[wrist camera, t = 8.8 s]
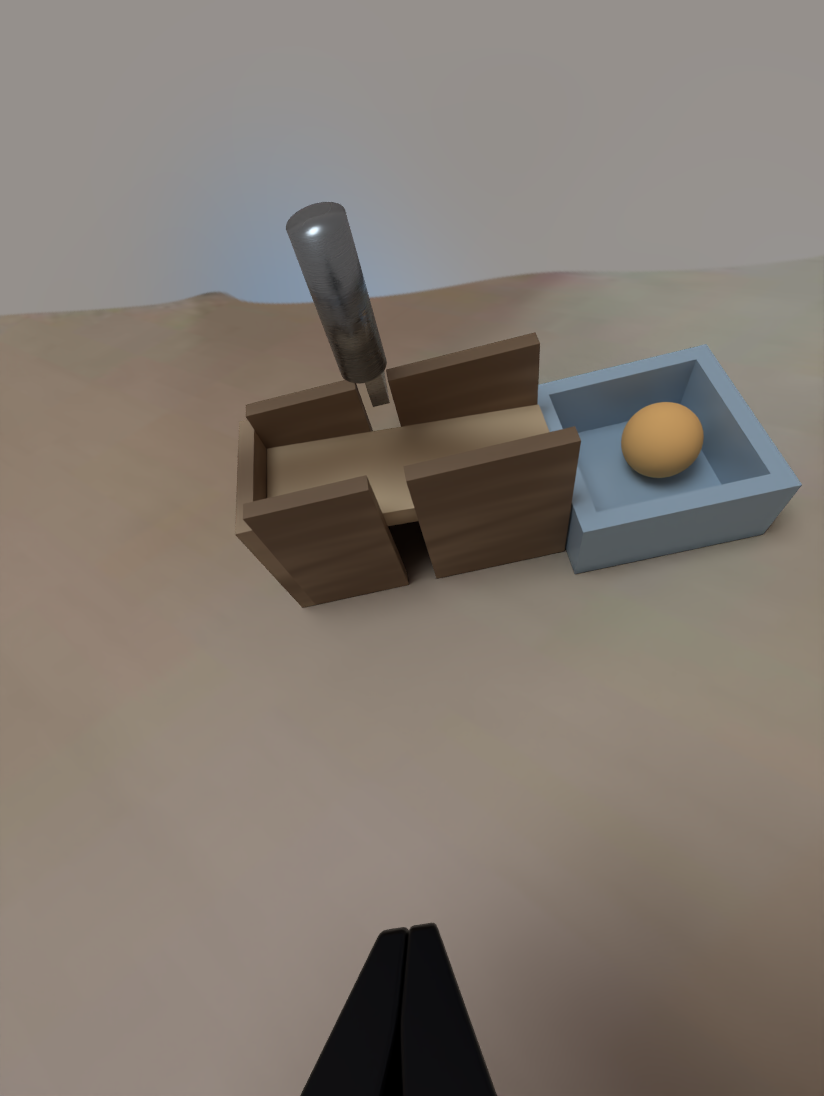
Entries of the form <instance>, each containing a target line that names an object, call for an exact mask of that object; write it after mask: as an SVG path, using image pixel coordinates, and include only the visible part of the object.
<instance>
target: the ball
mask: <svg viewBox="0 0 824 1096" xmlns="http://www.w3.org/2000/svg"><path fill="white" fill-rule="evenodd" d="M703 439H704V434H703V428H702V425H701V422H700V420H699V419H698V417H697V416H696V415H695V414H694V413H693V412H692V411H691V410H690V409H688V408H687V407H685V406H683V405H681V404H678V403H673V402H659V403H654V404H651V405H648V406H646V407H644V408H642V409H641V410H639V411H638V412H637V413H635V414H634V415H633V416H632V417H631V418H630V420H629V421H628V423H627V424H626V426H625V428H624V430H623V433H622V438H621V449H622V453H623V456H624V458H625V460H626V462H627V463H628V464H629V465H630V466H631V467H632V469H634V470H635V471H636V472H638V473H640V474H642V475H644V476H648V477H653V478H665V477H670V476H673V475H676V474H678V473H680V472H682V471H684V470H685V469H687V468H688V467H689V466H690V465H691V464H692V463H693V462H694V461H695V460H696V458H697V457H698V455H699V453H700V451H701V449H702V445H703Z"/></svg>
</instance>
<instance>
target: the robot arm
mask: <svg viewBox="0 0 824 1096" xmlns="http://www.w3.org/2000/svg"><path fill="white" fill-rule="evenodd" d="M300 1096H497V1094H496V1092H495V1089H494V1086H493V1083H492V1080H491V1077H490V1075H489V1072H488V1069H487V1066H486V1063H485V1060H484V1058H483V1055H482V1052H481V1049H480V1046H479V1043H478V1041H477V1038H476V1035H475V1032H474V1029H473V1026H472V1024H471V1021H470V1018H469V1015H468V1012H467V1009H466V1007H465V1004H464V1001H463V998H462V995H461V992H460V990H459V987H458V984H457V981H456V978H455V975H454V973H453V970H452V967H451V964H450V961H449V958H448V956H447V953H446V950H445V947H444V944H443V941H442V938H441V936H440V933H439V930H438V927H437V925H436V924H435V923H427V924H421V925H414V926H412V927H411V928H410V929H409V930H408V929H407V928H405V927H401V928H395V929H389V930H384V931H382V932H381V933H380V934H379V936H378V938H377V940H376V942H375V944H374V946H373V948H372V950H371V952H370V954H369V956H368V958H367V960H366V962H365V964H364V966H363V968H362V970H361V972H360V974H359V977H358V979H357V981H356V983H355V985H354V987H353V989H352V991H351V993H350V995H349V997H348V999H347V1001H346V1003H345V1005H344V1007H343V1009H342V1011H341V1013H340V1015H339V1018H338V1020H337V1022H336V1024H335V1026H334V1028H333V1030H332V1032H331V1034H330V1036H329V1038H328V1040H327V1042H326V1044H325V1046H324V1048H323V1050H322V1052H321V1054H320V1057H319V1059H318V1061H317V1063H316V1065H315V1067H314V1069H313V1071H312V1073H311V1075H310V1077H309V1079H308V1081H307V1083H306V1085H305V1087H304V1089H303V1091H302V1093H301V1095H300Z"/></svg>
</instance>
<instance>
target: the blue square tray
mask: <svg viewBox="0 0 824 1096" xmlns="http://www.w3.org/2000/svg"><path fill="white" fill-rule="evenodd" d="M659 402H673V403H678V404H681V405H683V406H685V407H687V408H688V409H690V410H691V411H692V412H693V413H694V414H695V415H696V416H697V417H698V419H699V420H700V422H701V425H702V428H703V434H704V439H703V445H702V449H701V451H700V453H699V455H698V457H697V458H696V460H695V461H694V462H693V463H692V464H691V465H690V466H689V467H688V468H687V469H685V470H684V471H682V472H680V473H678V474H676V475H673V476H670V477H665V478H653V477H648V476H644V475H642V474H640V473H638V472H636V471H635V470H634V469H632V467H631V466H630V465H629V464H628V463H627V462H626V460H625V458H624V456H623V453H622V449H621V438H622V433H623V430H624V428H625V426H626V424H627V423H628V421H629V420H630V418H631V417H632V416H633V415H634V414H635V413H637V412H638V411H639V410H641V409H642V408H644V407H646V406H648V405H651V404H654V403H659ZM538 404H539V406H540V408H541V411H542V414H543V416H544V419H545V421H546V424H547V427H548V429H549V432H552V431H556V430H561V429H565V428H569V427H574V426H575V427H576V430H577V432H578V434H579V437H580V439H581V445H580V452H579V458H578V465H577V471H576V478H575V484H574V491H573V497H572V504H571V511H570V517H569V524H568V530H567V537H566V543H565V548H566V551H567V554H568V556H569V559H570V562H571V565H572V568H573V571H574V574H578V573H583V572H587V571H592V570H597V569H602V568H606V567H611V566H616V565H620V564H625V563H630V562H635V561H639V560H644V559H649V558H654V557H658V556H663V555H668V554H672V553H677V552H682V551H687V550H691V549H696V548H701V547H706V546H710V545H715V544H720V543H724V542H729V541H734V540H739V539H743V538H748V537H753V536H758V535H762V534H764V533H765V531H766V530H767V529H768V527H769V526H770V525H771V524H772V522H773V521H774V520H775V519H776V517H777V516H778V515H779V513H780V512H781V511H782V510H783V508H784V507H785V506H786V505H787V503H788V502H789V501H790V500H791V498H792V497H793V496H794V494H795V493H796V492H797V491H798V489H799V488H800V487H801V486H802V484H801V483H800V481H799V480H798V478H797V477H796V475H795V474H794V472H793V471H792V469H791V468H790V467H789V465H788V464H787V462H786V461H785V459H784V458H783V456H782V455H781V453H780V452H779V450H778V449H777V447H776V446H775V444H774V443H773V442H772V440H771V439H770V437H769V436H768V434H767V433H766V431H765V430H764V428H763V427H762V425H761V424H760V422H759V421H758V420H757V418H756V417H755V415H754V414H753V412H752V411H751V409H750V408H749V406H748V405H747V403H746V402H745V400H744V399H743V397H742V396H741V395H740V393H739V392H738V390H737V389H736V387H735V386H734V384H733V383H732V381H731V380H730V378H729V377H728V375H727V374H726V372H725V371H724V370H723V368H722V367H721V365H720V364H719V362H718V361H717V359H716V358H715V356H714V355H713V353H712V352H711V350H710V349H709V348H708V346H707V345H706V344H705V345H701V346H697V347H693V348H689V349H684V350H680V351H676V352H672V353H668V354H664V355H660V356H656V357H651V358H647V359H643V360H639V361H635V362H631V363H627V364H622V365H618V366H614V367H610V368H606V369H602V370H598V371H594V372H589V373H585V374H581V375H577V376H573V377H569V378H565V379H560V380H556V381H552V382H548V383H544V384H540V385H538ZM538 404H537V405H538Z"/></svg>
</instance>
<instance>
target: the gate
mask: <svg viewBox="0 0 824 1096" xmlns="http://www.w3.org/2000/svg"><path fill="white" fill-rule="evenodd" d="M286 230H287V233H288V235H289V238H290V240H291V243H292V246H293V249H294V251H295V254H296V257H297V259H298V262H299V264H300V267H301V270H302V272H303V275H304V278H305V280H306V283H307V286H308V288H309V291H310V293H311V296H312V299H313V301H314V304H315V307H316V309H317V312H318V315H319V317H320V320H321V322H322V325H323V328H324V330H325V333H326V336H327V338H328V341H329V343H330V346H331V349H332V351H333V354H334V357H335V359H336V362H337V365H338V367H339V370H340V372H341V375H342V377H343V378H344V379H345V380H346V381H348V382H351V383H365V385H366V388H367V391H368V394H369V397H370V400H371V402H372V405H373V407H375V406H379V405H383V404H388V403H390V402H389V396H388V390H387V385H386V379H385V373H384V370H385V368H386V364H387V361H386V357H385V353H384V350H383V346H382V342H381V339H380V335H379V332H378V328H377V324H376V321H375V317H374V313H373V310H372V306H371V302H370V299H369V295H368V292H367V288H366V284H365V281H364V277H363V273H362V270H361V266H360V263H359V259H358V256H357V252H356V248H355V244H354V241H353V237H352V234H351V230H350V226H349V223H348V219H347V215H346V212H345V209H344V207H343V206H341V205H340V204H338V203H334V202H321V203H316V204H312V205H310V206H307V207H305V208H303V209H301V210H299V211H298V212H296V213H295V214H294V215H293V216H292V217H291V218H290V219H289V220H288V222H287V225H286Z"/></svg>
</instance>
